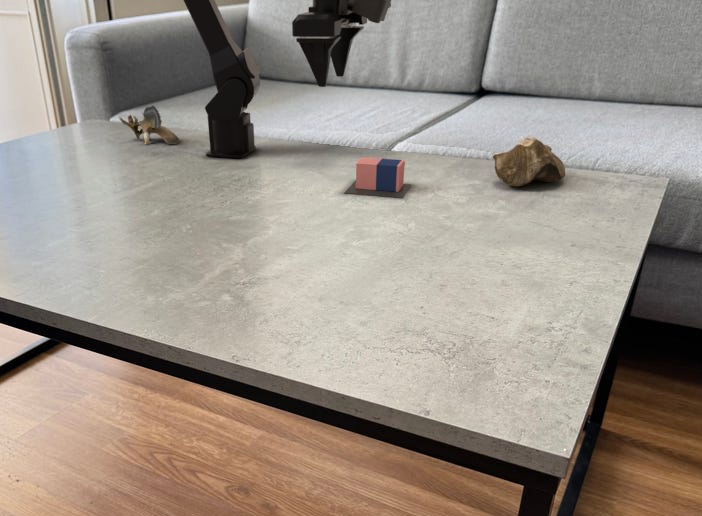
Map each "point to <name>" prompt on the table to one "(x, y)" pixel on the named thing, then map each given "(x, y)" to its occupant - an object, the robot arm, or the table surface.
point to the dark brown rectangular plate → (399, 194)
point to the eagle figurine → (150, 126)
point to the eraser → (380, 174)
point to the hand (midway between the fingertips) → (331, 81)
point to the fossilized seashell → (528, 163)
